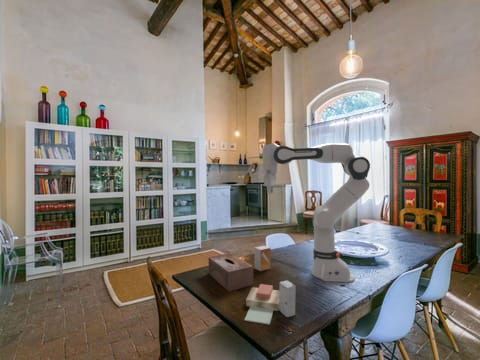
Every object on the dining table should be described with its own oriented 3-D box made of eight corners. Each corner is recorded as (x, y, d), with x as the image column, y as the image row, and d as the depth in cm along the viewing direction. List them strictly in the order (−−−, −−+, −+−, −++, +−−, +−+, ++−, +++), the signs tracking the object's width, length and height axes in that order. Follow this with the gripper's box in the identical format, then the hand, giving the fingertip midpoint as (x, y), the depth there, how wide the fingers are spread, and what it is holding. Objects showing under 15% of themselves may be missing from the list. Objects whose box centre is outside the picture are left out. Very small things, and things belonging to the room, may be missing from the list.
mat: (273, 310, 99) (273, 309, 99) (269, 324, 90) (269, 323, 90) (250, 307, 102) (250, 306, 102) (244, 320, 93) (244, 319, 93)
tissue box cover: (208, 274, 139) (208, 257, 139) (230, 268, 146) (230, 252, 146) (228, 292, 117) (228, 271, 116) (253, 285, 124) (253, 266, 124)
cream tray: (281, 297, 110) (281, 290, 110) (278, 311, 99) (278, 303, 99) (252, 293, 114) (252, 287, 114) (246, 306, 103) (245, 299, 103)
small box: (260, 271, 140) (260, 250, 140) (254, 268, 146) (254, 247, 146) (271, 268, 145) (270, 247, 145) (264, 265, 150) (264, 245, 150)
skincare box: (278, 310, 100) (278, 281, 99) (287, 307, 101) (287, 279, 101) (287, 318, 94) (286, 287, 94) (296, 315, 96) (295, 285, 96)
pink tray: (260, 288, 113) (260, 284, 113) (272, 289, 111) (272, 285, 111) (256, 297, 105) (256, 292, 105) (269, 299, 103) (269, 294, 103)
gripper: (272, 169, 131) (272, 194, 131) (277, 170, 151) (277, 192, 151) (261, 170, 133) (261, 194, 133) (267, 170, 153) (267, 192, 153)
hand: (270, 193), depth 142 cm, fingers open, 8 cm apart
